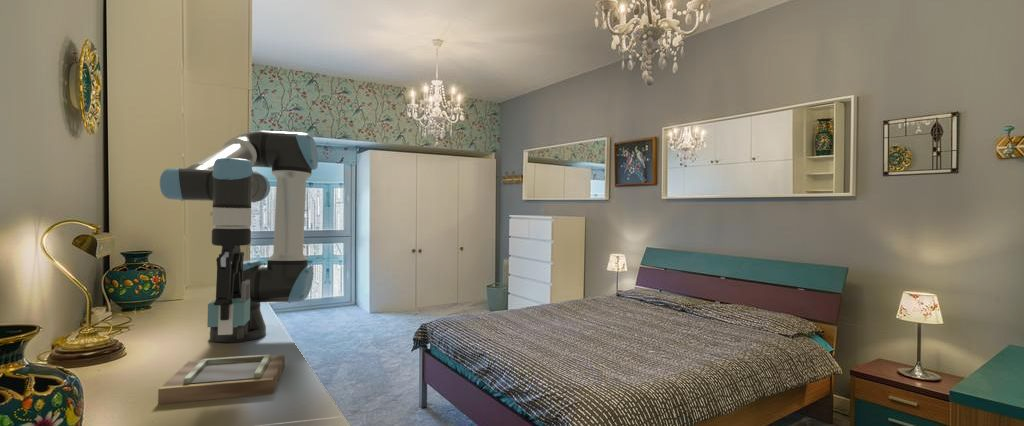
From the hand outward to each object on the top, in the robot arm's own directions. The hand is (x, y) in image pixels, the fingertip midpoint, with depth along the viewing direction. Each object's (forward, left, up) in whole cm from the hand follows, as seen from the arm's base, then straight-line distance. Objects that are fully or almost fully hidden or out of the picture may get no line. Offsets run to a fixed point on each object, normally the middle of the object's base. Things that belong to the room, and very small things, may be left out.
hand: (229, 330), depth 106 cm
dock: (-2, 0, -13) cm, 13 cm away
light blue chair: (0, 0, -1) cm, 1 cm away
